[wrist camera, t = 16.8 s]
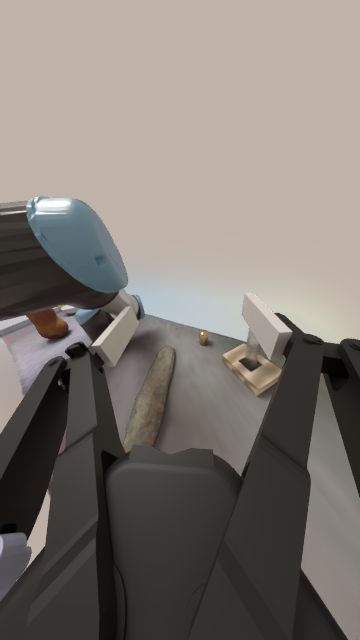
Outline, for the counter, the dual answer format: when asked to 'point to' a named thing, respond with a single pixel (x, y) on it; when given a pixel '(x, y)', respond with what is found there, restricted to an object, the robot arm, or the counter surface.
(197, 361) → the counter surface
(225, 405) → the counter surface
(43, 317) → the butternut squash
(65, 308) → the serving bowl
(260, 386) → the guide block
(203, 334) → the brass stub pin
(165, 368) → the elongated rock
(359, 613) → the counter surface
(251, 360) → the steel pin
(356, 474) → the robot arm
